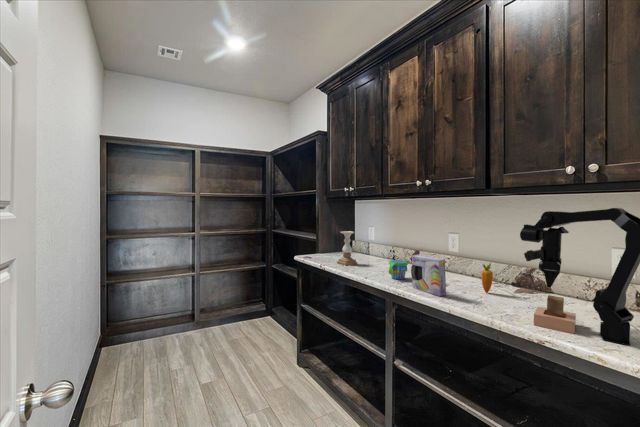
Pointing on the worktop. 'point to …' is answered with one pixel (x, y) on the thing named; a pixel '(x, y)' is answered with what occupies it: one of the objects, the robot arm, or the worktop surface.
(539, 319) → the frame
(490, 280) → the carrot
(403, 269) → the snack cup
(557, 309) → the walnut peg
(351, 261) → the candle holder
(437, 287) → the cake pan box
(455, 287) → the worktop surface
